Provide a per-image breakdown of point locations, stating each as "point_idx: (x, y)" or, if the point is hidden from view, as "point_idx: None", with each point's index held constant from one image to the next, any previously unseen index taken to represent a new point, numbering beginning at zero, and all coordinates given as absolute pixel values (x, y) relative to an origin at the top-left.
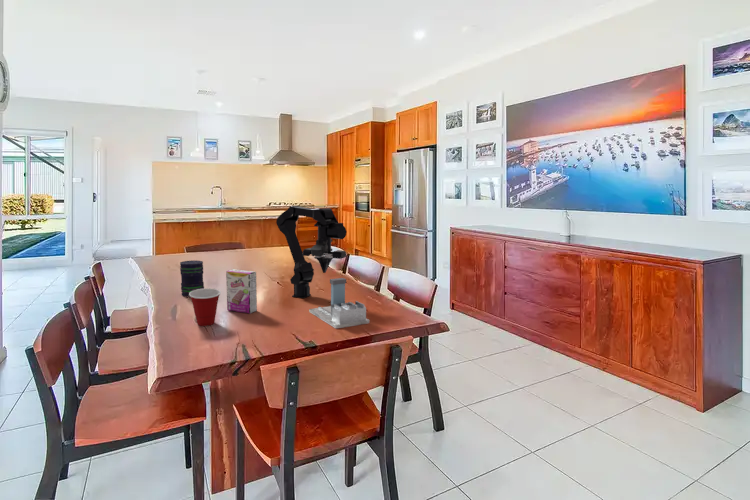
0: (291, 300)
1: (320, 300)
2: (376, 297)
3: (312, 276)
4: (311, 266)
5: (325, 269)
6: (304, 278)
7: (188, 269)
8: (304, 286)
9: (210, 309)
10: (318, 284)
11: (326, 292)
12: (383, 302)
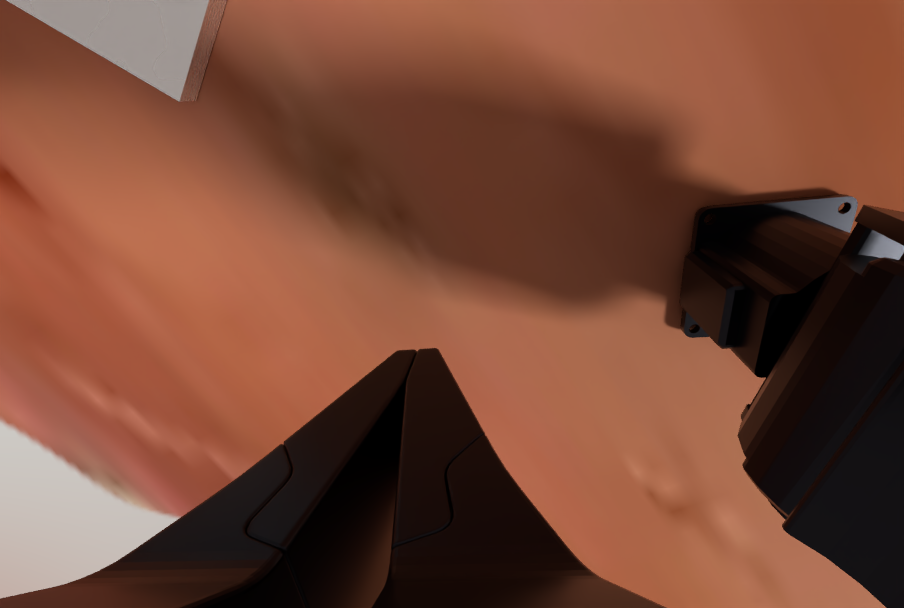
0: (798, 68)
1: (510, 229)
2: (208, 488)
3: (745, 430)
4: (891, 589)
5: (353, 393)
6: (831, 282)
7: None
8: (769, 282)
9: None
10: (764, 597)
11: (598, 457)
12: (76, 409)
